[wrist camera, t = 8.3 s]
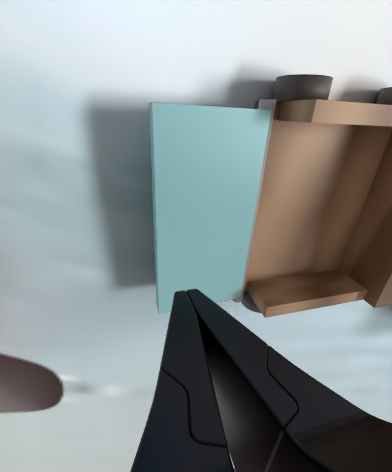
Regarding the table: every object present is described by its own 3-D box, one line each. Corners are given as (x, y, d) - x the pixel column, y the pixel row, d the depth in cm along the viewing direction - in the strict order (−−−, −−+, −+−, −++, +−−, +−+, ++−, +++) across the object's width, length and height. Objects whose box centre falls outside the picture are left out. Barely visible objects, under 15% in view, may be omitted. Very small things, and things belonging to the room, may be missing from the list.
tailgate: (280, 99, 13) (151, 89, 11) (244, 301, 19) (159, 319, 17) (269, 100, 14) (148, 91, 12) (238, 293, 20) (156, 309, 18)
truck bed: (407, 92, 18) (511, 86, 13) (337, 276, 25) (387, 315, 20) (259, 78, 14) (325, 63, 10) (229, 292, 22) (259, 342, 17)
